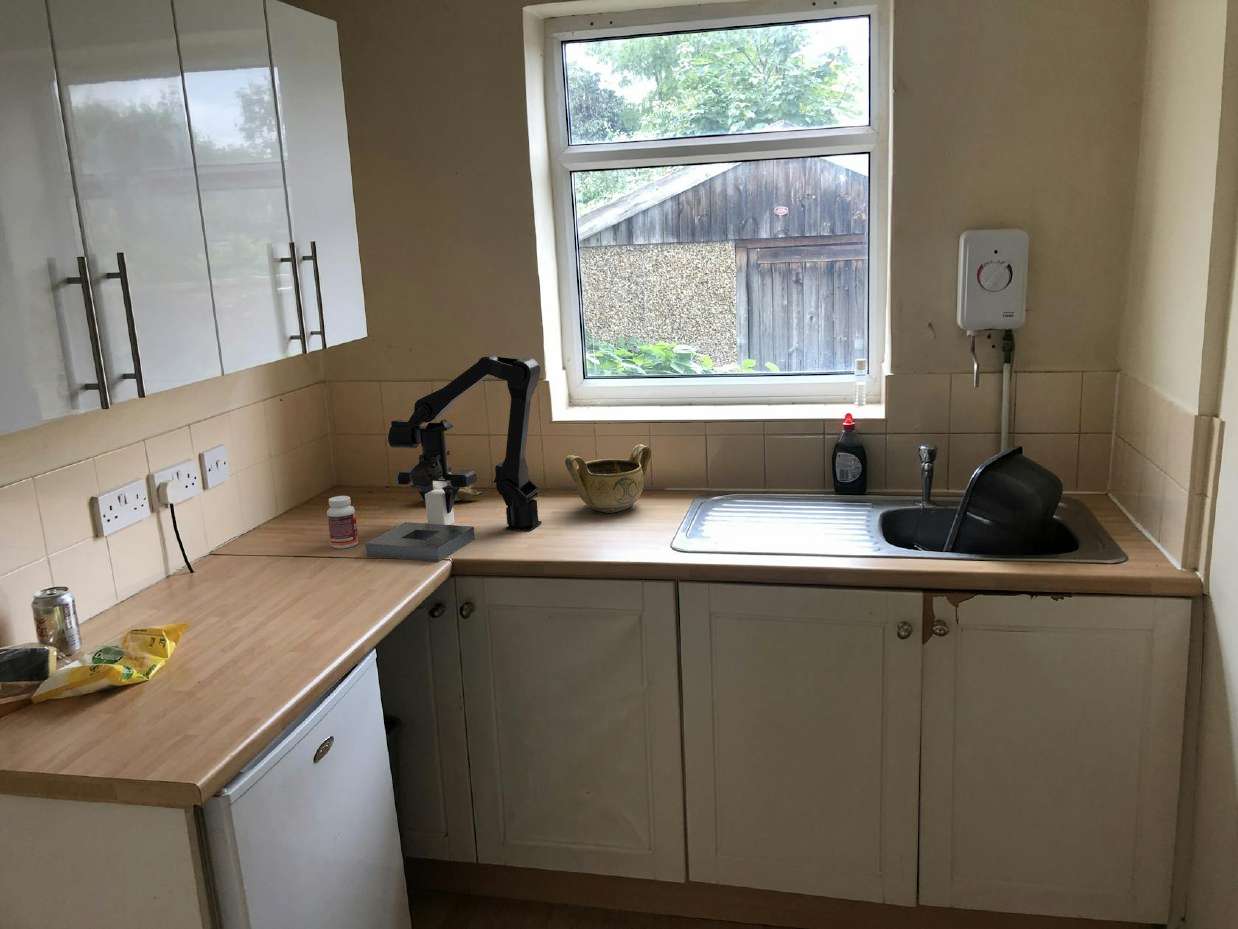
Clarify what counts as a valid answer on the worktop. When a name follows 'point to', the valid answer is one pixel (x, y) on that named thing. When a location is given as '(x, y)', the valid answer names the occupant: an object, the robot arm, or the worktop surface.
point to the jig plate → (420, 541)
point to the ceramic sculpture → (463, 491)
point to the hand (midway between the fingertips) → (440, 512)
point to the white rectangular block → (438, 508)
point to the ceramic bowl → (610, 480)
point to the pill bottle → (342, 523)
